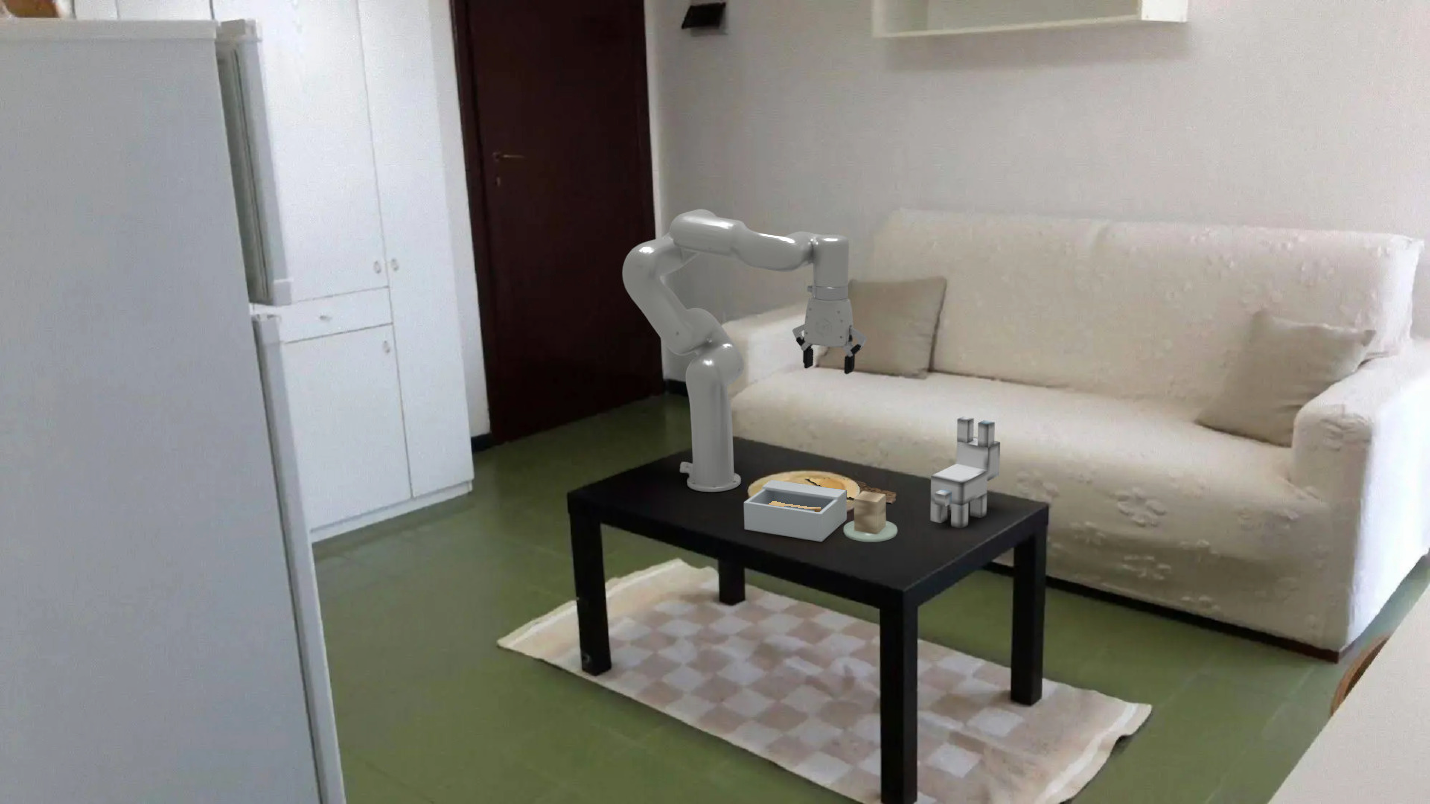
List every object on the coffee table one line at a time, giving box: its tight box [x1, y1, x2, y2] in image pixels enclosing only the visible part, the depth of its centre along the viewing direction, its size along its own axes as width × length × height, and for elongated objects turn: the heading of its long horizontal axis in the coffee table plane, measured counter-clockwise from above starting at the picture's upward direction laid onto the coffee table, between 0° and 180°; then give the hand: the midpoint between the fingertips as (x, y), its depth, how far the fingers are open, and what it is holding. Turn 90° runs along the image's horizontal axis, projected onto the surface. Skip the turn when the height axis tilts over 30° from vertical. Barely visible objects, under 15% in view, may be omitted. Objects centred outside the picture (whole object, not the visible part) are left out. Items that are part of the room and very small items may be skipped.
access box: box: [743, 479, 848, 543], centre depth 243 cm, size 18×14×7 cm
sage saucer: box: [843, 520, 898, 543], centre depth 238 cm, size 11×11×1 cm
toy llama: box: [930, 416, 1001, 529], centre depth 242 cm, size 8×18×20 cm, turn 137°
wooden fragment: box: [854, 480, 898, 505], centre depth 263 cm, size 26×11×1 cm, turn 41°
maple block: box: [853, 491, 887, 534], centre depth 237 cm, size 5×5×7 cm
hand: (828, 369), depth 252 cm, fingers open, 9 cm apart
